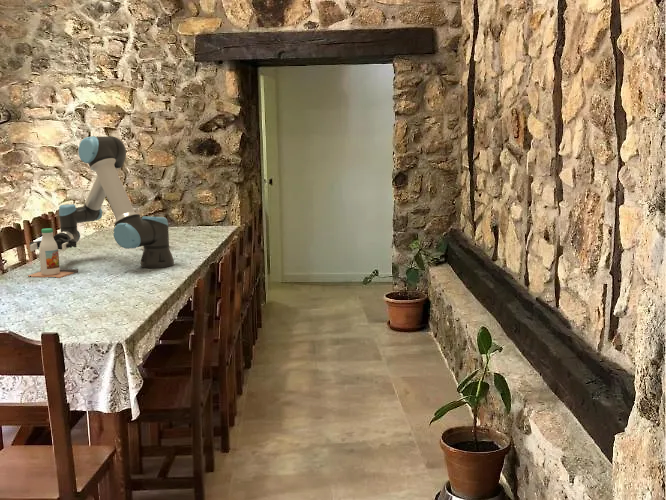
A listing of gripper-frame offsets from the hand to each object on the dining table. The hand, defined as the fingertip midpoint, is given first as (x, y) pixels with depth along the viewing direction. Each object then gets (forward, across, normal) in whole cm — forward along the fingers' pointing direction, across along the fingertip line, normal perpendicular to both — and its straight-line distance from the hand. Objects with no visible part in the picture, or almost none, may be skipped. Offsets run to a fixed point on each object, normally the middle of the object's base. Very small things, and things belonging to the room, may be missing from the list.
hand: (46, 247), depth 296 cm
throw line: (-8, -2, -13) cm, 15 cm away
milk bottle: (-2, 0, -12) cm, 12 cm away
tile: (-2, 0, -13) cm, 13 cm away
